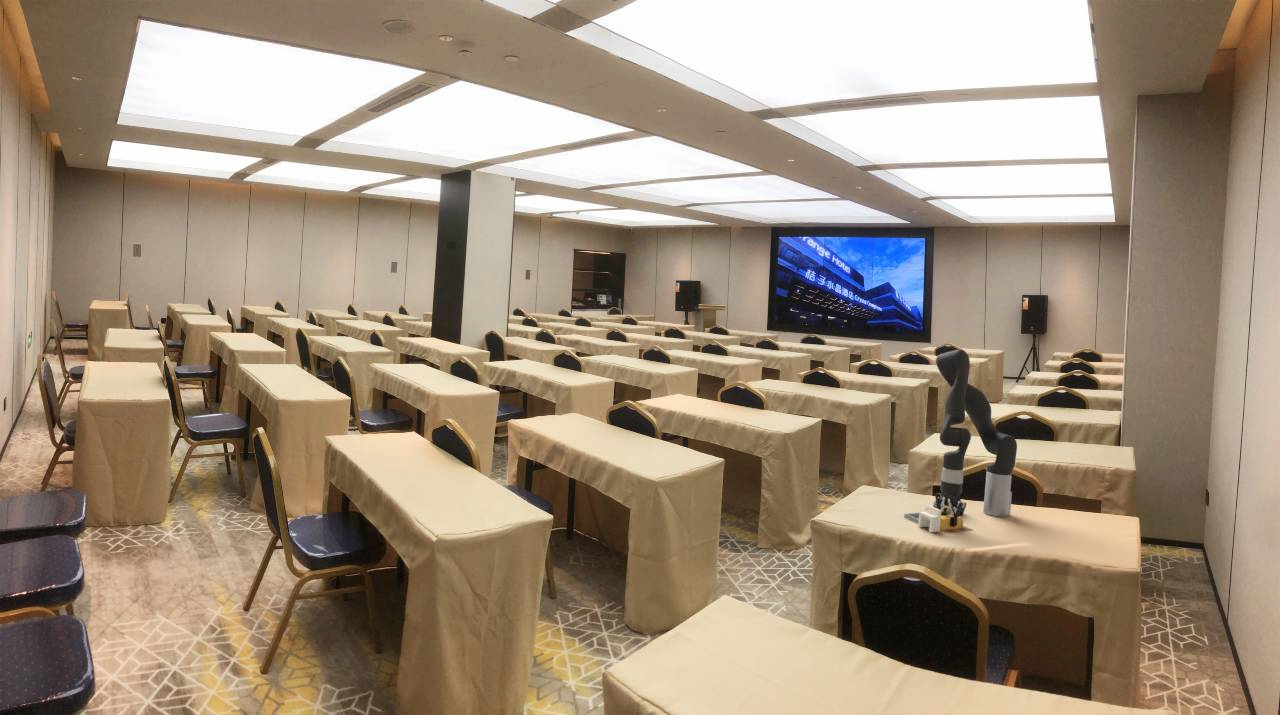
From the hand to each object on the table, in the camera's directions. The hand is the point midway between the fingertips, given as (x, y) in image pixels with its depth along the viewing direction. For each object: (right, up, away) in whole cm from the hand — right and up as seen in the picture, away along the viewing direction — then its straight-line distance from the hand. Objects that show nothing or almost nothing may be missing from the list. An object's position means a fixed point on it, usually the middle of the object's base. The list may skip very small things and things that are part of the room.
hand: (948, 524), depth 273 cm
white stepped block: (-9, -1, -3) cm, 9 cm away
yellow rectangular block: (0, -1, 0) cm, 1 cm away
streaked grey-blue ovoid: (+7, -1, +20) cm, 21 cm away
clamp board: (-2, -2, 0) cm, 3 cm away
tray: (-5, -1, +9) cm, 10 cm away
